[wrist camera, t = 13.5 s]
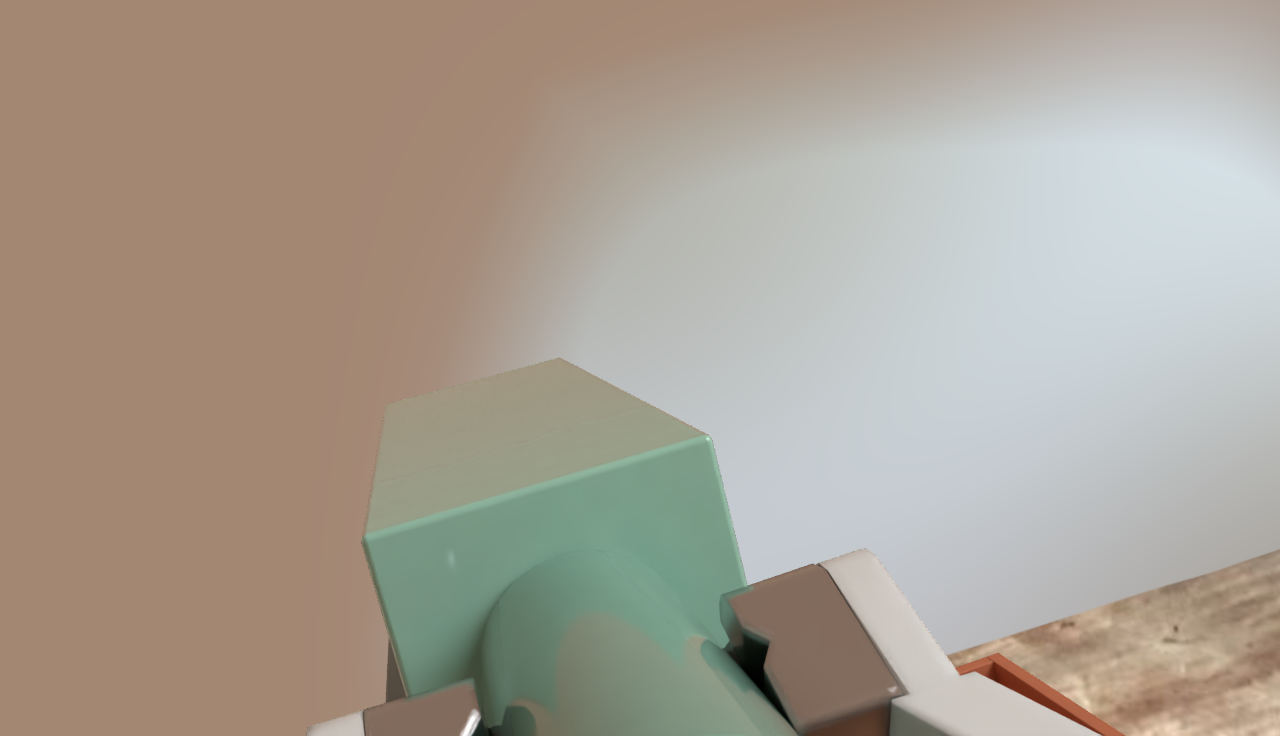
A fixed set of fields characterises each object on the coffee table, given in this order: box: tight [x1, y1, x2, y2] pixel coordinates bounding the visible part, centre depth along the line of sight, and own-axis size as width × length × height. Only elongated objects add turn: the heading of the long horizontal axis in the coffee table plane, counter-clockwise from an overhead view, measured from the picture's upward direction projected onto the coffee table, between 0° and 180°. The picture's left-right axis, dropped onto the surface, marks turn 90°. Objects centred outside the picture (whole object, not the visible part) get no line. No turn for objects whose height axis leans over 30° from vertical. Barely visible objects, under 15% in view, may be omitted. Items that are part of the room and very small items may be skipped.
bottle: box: [361, 358, 799, 736], centre depth 15 cm, size 4×17×4 cm, turn 13°
